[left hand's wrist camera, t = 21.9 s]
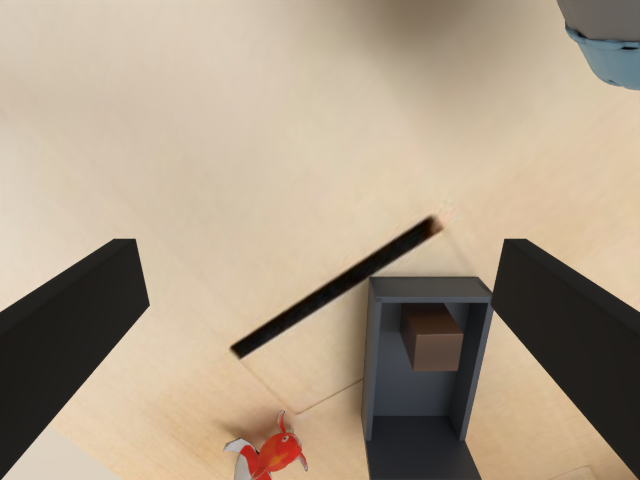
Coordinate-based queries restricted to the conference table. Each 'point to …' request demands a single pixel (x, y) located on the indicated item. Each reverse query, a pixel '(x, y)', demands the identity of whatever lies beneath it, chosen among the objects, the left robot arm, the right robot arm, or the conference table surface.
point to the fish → (266, 454)
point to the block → (430, 337)
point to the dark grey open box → (421, 382)
